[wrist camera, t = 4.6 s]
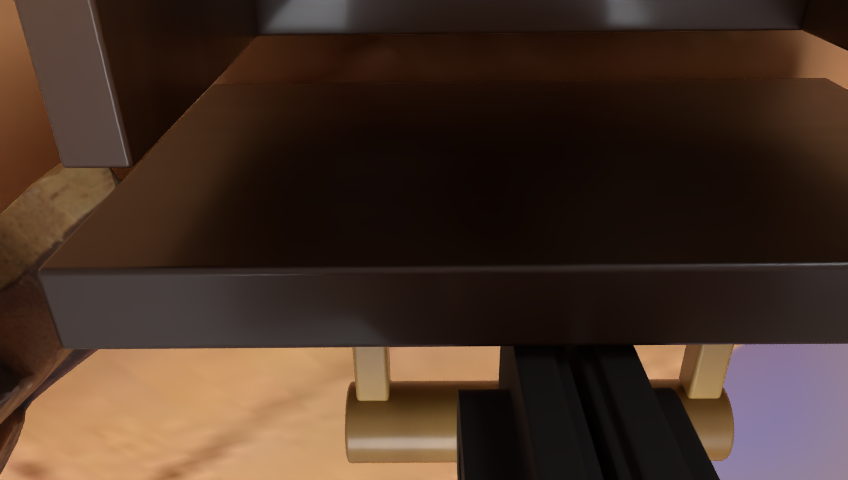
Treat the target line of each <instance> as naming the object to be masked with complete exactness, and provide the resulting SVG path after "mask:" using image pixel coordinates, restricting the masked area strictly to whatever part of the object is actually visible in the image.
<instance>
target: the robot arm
mask: <svg viewBox="0 0 848 480" xmlns="http://www.w3.org/2000/svg"><path fill="white" fill-rule="evenodd" d="M457 476H458V480H720V479H719V477H718V475H717V473H716V471H715V469H714V467H713V465H712V463H711V461H710V459H709V457H708V455H707V453H706V451H705V449H704V447H703V444H702V442H701V440H700V438H699V436H698V434H697V432H696V430H695V428H694V426H693V424H692V422H691V420H690V418H689V416H688V414H687V412H686V410H685V408H684V406H683V404H682V402H681V399H680V398H679V396H678V395H677V393H676V391H675V390H673V389H672V388H670V387H665V388H652V386H651V384H650V382H649V379H648V377H647V375H646V373H645V370H644V368H643V366H642V364H641V361H640V359H639V357H638V355H637V352H636V350H635V348H634V346H633V345H576V346H501V347H500V366H499V385H498V389H458V392H457Z"/></svg>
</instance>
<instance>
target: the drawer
mask: <svg viewBox="0 0 848 480" xmlns="http://www.w3.org/2000/svg"><path fill="white" fill-rule="evenodd" d="M14 1H15V4H16V8H17V11H18V15H19V18H20V22H21V25H22V29H23V32H24V36H25V39H26V42H27V46H28V49H29V53H30V56H31V60H32V63H33V67H34V70H35V74H36V77H37V80H38V84H39V87H40V91H41V94H42V98H43V101H44V105H45V108H46V111H47V115H48V118H49V122H50V125H51V129H52V132H53V136H54V139H55V143H56V146H57V149H58V153H59V156H60V160H61V163H62V165H63V167H65V168H130V167H132V166H134V165H135V164H136V163H137V162H138V161H139V160H140V159H141V158H142V157H143V156H144V155H145V153H146V152H147V151H148V150H149V149H150V148H151V147H152V146H153V145H154V144H155V143H156V142H157V141H158V140H159V139H160V138H161V137H162V136H163V135H164V134H165V133H166V132H167V130H168V129H169V128H170V127H171V126H172V125H173V124H174V123H175V122H176V121H177V120H178V119H179V118H180V117H181V116H182V115H183V114H184V113H185V112H186V111H187V110H188V109H189V107H190V106H191V105H192V104H193V103H194V102H195V101H196V100H197V99H198V98H199V97H200V96H201V95H202V94H203V93H204V92H205V91H206V90H207V89H208V88H209V87H210V86H211V84H212V83H213V82H214V81H215V80H216V79H217V78H218V77H219V76H220V75H221V74H222V73H223V72H224V71H225V70H226V69H227V68H228V67H229V66H230V65H231V64H232V63H233V61H234V60H235V59H236V58H237V57H238V56H239V55H240V54H241V53H242V52H243V51H244V50H245V49H246V48H247V47H248V46H249V45H250V44H251V43H252V42H253V41H254V40H255V38H256V37H257V36H293V35H386V34H480V33H574V32H668V31H761V30H803V31H805V32H808V33H810V34H812V35H814V36H816V37H819V38H821V39H823V40H825V41H828V42H830V43H832V44H834V45H836V46H839V47H841V48H843V49H845V50H848V0H14ZM37 277H38V280H39V283H40V286H41V289H42V292H43V295H44V298H45V301H46V304H47V306H48V309H49V312H50V315H51V318H52V321H53V324H54V327H55V330H56V333H57V336H58V339H59V342H60V345H61V346H62V347H63V348H65V349H170V348H306V347H353V359H354V372H355V382H351V383H350V385H349V388H348V392H347V400H346V414H345V444H346V454H347V458H348V461H349V462H350V463H447V462H457V392H458V389H498V385H499V381H391V379H390V357H389V347H441V346H576V345H686V348H685V353H684V358H683V362H682V367H681V371H680V376H679V379H655V380H649V382H650V384H651V386H652V388H665V387H670V388H672V389H673V390H675V391H676V393H677V395H678V396H679V398H680V399H681V402H682V404H683V406H684V408H685V410H686V412H687V414H688V416H689V418H690V420H691V422H692V424H693V426H694V428H695V430H696V432H697V434H698V436H699V438H700V440H701V442H702V444H703V447H704V449H705V451H706V453H707V455H708V457H709V459H710V461H722V460H724V459H726V458H727V457H728V456H729V454H730V452H731V450H732V446H733V440H734V421H733V414H732V408H731V405H730V401H729V398H728V396H727V393H726V392H725V389H724V388H723V384H724V380H725V376H726V372H727V369H728V365H729V361H730V357H731V354H732V350H733V346H734V344H835V343H836V344H838V343H839V344H842V343H843V344H847V343H848V90H847V89H845V88H843V87H841V86H840V85H838V84H836V83H834V82H832V81H830V80H828V79H826V78H782V79H684V80H586V81H487V82H389V83H290V84H215V85H212V86H211V87H210V89H209V90H208V91H207V92H206V93H205V94H204V95H203V96H202V97H201V98H200V99H199V100H198V101H197V102H196V103H195V104H194V105H193V106H192V107H191V109H190V110H189V111H188V112H187V113H186V114H185V115H184V116H183V117H182V118H181V119H180V120H179V121H178V122H177V123H176V124H175V125H174V126H173V128H172V129H171V130H170V131H169V132H168V133H167V134H166V135H165V136H164V137H163V138H162V139H161V140H160V141H159V142H158V143H157V144H156V145H155V147H154V148H153V149H152V150H151V151H150V152H149V153H148V154H147V155H146V156H145V157H144V158H143V159H142V160H141V161H140V162H139V163H138V164H137V165H136V167H135V168H134V169H133V170H132V171H131V172H130V173H129V174H128V175H127V176H126V177H125V178H124V179H123V180H122V181H121V182H120V183H119V184H118V186H117V187H116V188H115V189H114V190H113V191H112V192H111V193H110V194H109V195H108V196H107V197H106V198H105V199H104V200H103V201H102V202H101V203H100V204H99V206H98V207H97V208H96V209H95V210H94V211H93V212H92V213H91V214H90V215H89V216H88V217H87V218H86V219H85V220H84V221H83V222H82V223H81V225H80V226H79V227H78V228H77V229H76V230H75V231H74V232H73V233H72V234H71V235H70V236H69V237H68V238H67V239H66V240H65V241H64V242H63V244H62V245H61V246H60V247H59V248H58V249H57V250H56V251H55V252H54V253H53V254H52V255H51V256H50V257H49V258H48V259H47V260H46V261H45V262H44V264H43V265H42V266H41V267H40V268H39V269H38V276H37Z"/></svg>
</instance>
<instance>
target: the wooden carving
mask: <svg viewBox="0 0 848 480" xmlns="http://www.w3.org/2000/svg"><path fill="white" fill-rule="evenodd" d="M120 182H121V180H120V179H119V178H118V177H117V175H116V174H115V173H114V171H113V170H112V169H111V168H65V167H63V165H62V163H61V162H60V163H59V164H58V165H56V166H55V167H54V168H52V169H51V170H50V171H48V172H47V173H46V174H44V175H43V176H42V177H40V178H39V179H38V180H36V181H35V182H34V183H33V184H31V185H30V186H29V187H28V188H27V189H26V190H25V191H24V192H23V193H22V194H21V195H20V196H19V197H18V198H17V199H16V200H15V201H14V202H12V203H11V204H10V205H9V206H8V207H7V208H6V209H5V210H4V211H3V212H2V213H1V214H0V474H1V472H2V471H3V469H4V467H5V465H6V463H7V461H8V459H9V457H10V455H11V453H12V451H13V449H14V447H15V445H16V443H17V441H18V438H19V436H20V433H21V430H22V427H23V424H24V420H25V411H26V409H27V408H28V407H29V405H30V404H31V402H32V401H33V400H34V399H36V398H37V397H38V396H39V395H40V394H41V393H43V392H44V391H45V390H46V389H47V388H49V387H50V386H51V385H52V384H54V383H55V382H56V381H57V380H59V379H60V378H61V377H63V376H64V375H65V374H67V373H68V372H69V371H70V370H72V369H73V368H74V367H76V366H77V365H78V364H80V363H81V362H82V361H84V360H85V359H86V358H88V357H89V356H90V355H92V354H93V353H94V352H96V351H97V350H98V349H65V348H63V347H62V346H61V345H60V342H59V339H58V336H57V333H56V330H55V327H54V324H53V321H52V318H51V315H50V312H49V309H48V306H47V304H46V301H45V298H44V295H43V292H42V289H41V286H40V283H39V280H38V277H37V276H38V269H39V268H40V267H41V266H42V265H43V264H44V262H45V261H46V260H47V259H48V258H49V257H50V256H51V255H52V254H53V253H54V252H55V251H56V250H57V249H58V248H59V247H60V246H61V245H62V244H63V242H64V241H65V240H66V239H67V238H68V237H69V236H70V235H71V234H72V233H73V232H74V231H75V230H76V229H77V228H78V227H79V226H80V225H81V223H82V222H83V221H84V220H85V219H86V218H87V217H88V216H89V215H90V214H91V213H92V212H93V211H94V210H95V209H96V208H97V207H98V206H99V204H100V203H101V202H102V201H103V200H104V199H105V198H106V197H107V196H108V195H109V194H110V193H111V192H112V191H113V190H114V189H115V188H116V187H117V186H118V184H119V183H120Z"/></svg>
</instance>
